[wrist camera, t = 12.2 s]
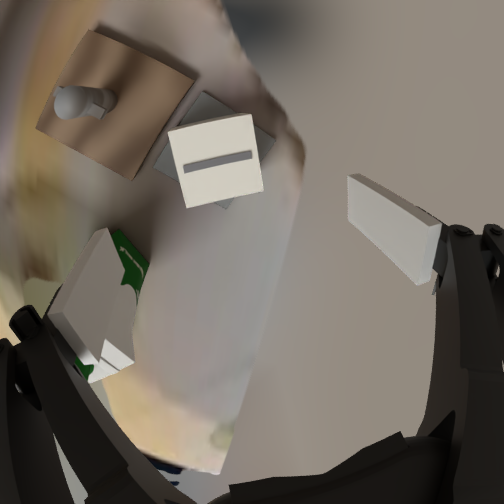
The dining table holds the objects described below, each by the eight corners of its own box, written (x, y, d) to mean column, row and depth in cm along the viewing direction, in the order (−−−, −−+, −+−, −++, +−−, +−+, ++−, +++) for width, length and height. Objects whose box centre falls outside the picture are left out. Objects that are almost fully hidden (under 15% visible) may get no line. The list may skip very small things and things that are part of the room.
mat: (153, 166, 32) (152, 167, 32) (202, 91, 29) (202, 91, 28) (225, 208, 37) (226, 209, 36) (275, 140, 33) (276, 140, 33)
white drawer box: (188, 191, 34) (186, 209, 29) (172, 127, 30) (167, 132, 24) (253, 177, 35) (264, 191, 29) (242, 112, 30) (251, 114, 25)
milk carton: (79, 252, 35) (25, 356, 18) (120, 219, 35) (69, 323, 18) (116, 292, 40) (89, 402, 23) (159, 265, 39) (144, 381, 22)
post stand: (40, 127, 25) (-13, 143, 15) (92, 31, 21) (50, 7, 11) (134, 177, 32) (107, 212, 22) (194, 82, 28) (192, 69, 18)
